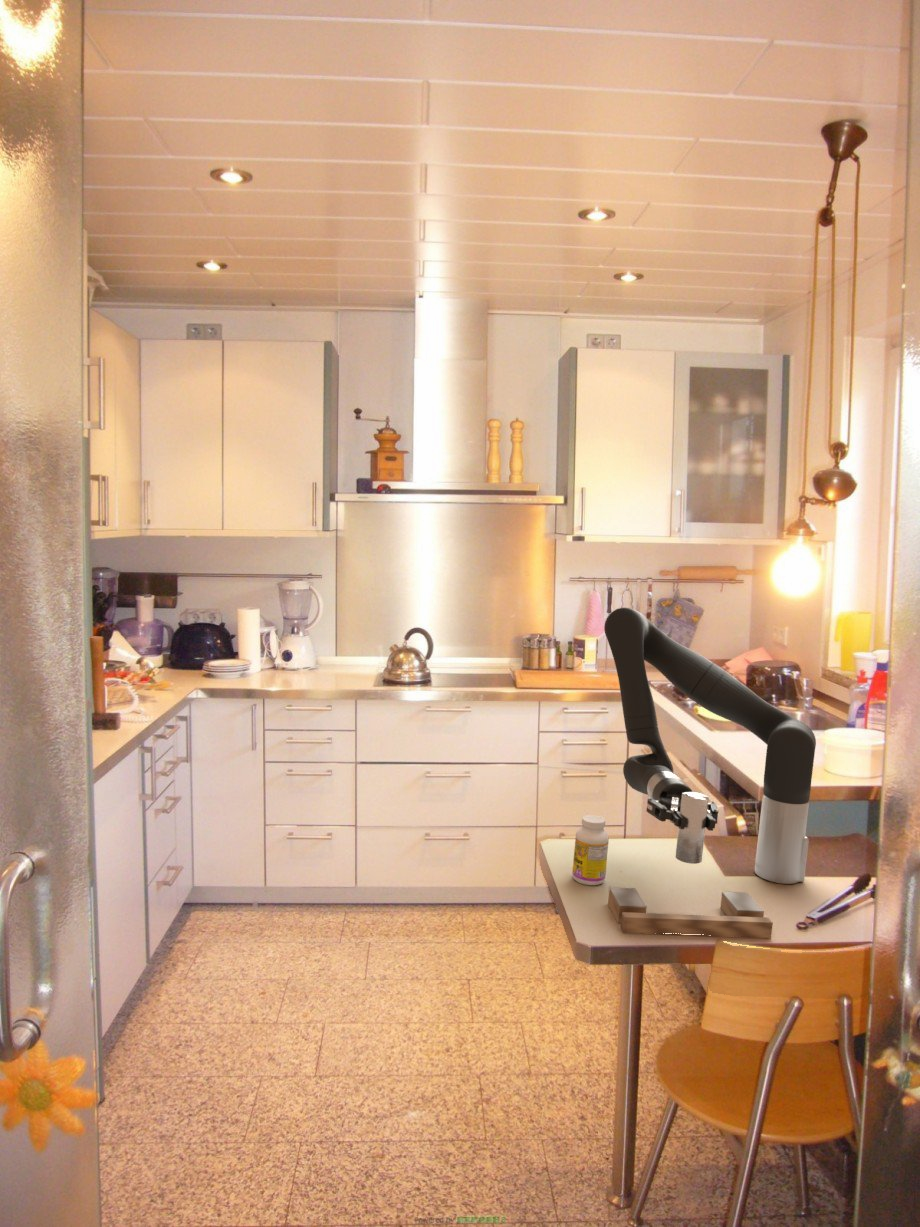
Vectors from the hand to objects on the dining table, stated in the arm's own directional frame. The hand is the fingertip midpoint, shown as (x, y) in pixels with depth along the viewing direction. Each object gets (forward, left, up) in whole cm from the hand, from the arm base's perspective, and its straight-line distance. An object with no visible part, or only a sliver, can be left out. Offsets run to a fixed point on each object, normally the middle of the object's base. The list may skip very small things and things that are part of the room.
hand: (697, 824), depth 164 cm
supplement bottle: (+15, -18, -19) cm, 30 cm away
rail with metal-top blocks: (0, -1, -19) cm, 19 cm away
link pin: (0, -3, -7) cm, 8 cm away
